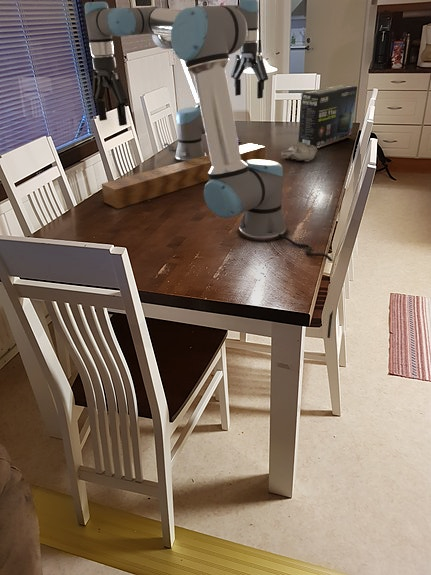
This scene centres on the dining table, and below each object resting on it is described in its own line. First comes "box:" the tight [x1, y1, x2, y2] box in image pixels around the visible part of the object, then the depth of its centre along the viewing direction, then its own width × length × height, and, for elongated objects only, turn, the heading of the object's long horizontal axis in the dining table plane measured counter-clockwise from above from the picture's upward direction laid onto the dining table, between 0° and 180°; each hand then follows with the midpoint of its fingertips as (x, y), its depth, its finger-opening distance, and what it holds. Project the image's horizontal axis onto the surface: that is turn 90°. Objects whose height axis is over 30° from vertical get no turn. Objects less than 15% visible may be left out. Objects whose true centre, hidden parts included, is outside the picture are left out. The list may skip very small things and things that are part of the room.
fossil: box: [280, 141, 318, 163], centre depth 221 cm, size 18×11×15 cm
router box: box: [297, 84, 358, 147], centre depth 238 cm, size 36×11×27 cm, turn 134°
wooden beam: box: [101, 142, 266, 210], centre depth 196 cm, size 81×10×8 cm, turn 132°
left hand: (248, 96), depth 202 cm, fingers open, 13 cm apart
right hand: (112, 122), depth 164 cm, fingers open, 13 cm apart
